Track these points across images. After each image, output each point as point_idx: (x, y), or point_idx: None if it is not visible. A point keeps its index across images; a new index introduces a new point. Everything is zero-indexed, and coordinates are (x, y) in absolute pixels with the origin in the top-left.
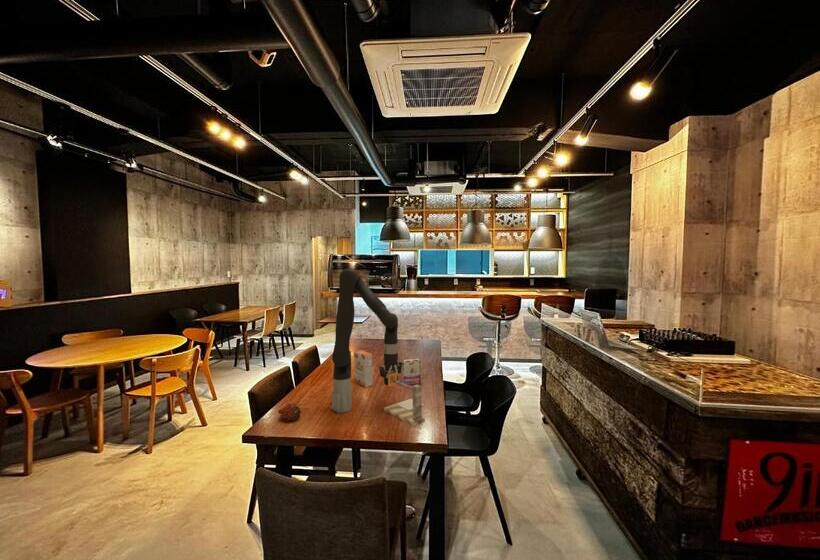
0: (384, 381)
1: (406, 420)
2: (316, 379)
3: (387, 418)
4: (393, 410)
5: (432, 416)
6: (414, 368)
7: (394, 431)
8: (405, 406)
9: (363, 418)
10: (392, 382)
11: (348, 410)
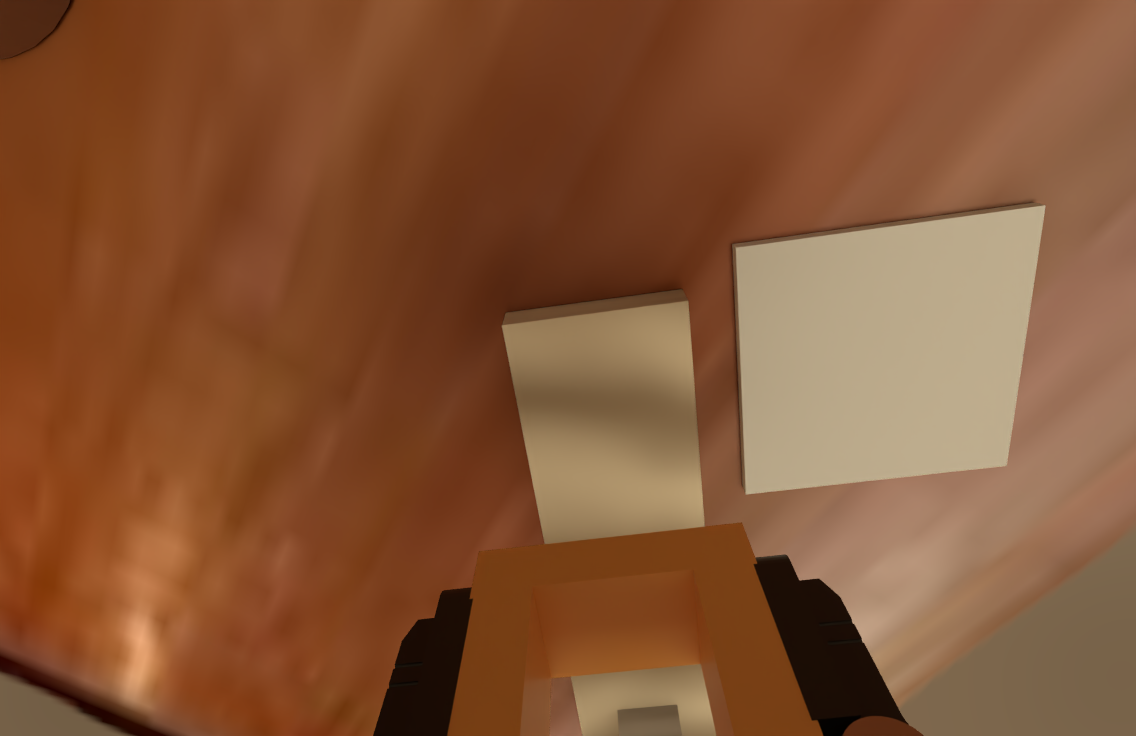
0: (396, 691)
1: None
2: None
3: (447, 507)
4: (565, 461)
5: None
6: None
7: None
8: (785, 394)
9: (196, 371)
10: (653, 632)
11: (14, 50)
